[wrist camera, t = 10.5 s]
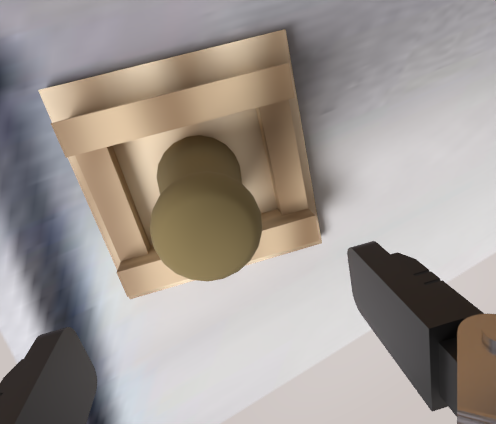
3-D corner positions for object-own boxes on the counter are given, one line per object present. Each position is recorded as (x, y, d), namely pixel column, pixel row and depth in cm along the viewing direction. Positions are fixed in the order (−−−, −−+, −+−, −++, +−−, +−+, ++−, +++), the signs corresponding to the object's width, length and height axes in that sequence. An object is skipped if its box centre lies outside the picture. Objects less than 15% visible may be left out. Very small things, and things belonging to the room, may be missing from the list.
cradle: (281, 31, 23) (299, 21, 20) (317, 238, 29) (336, 260, 26) (44, 90, 22) (16, 91, 19) (131, 292, 28) (123, 323, 25)
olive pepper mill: (158, 217, 25) (139, 306, 15) (154, 133, 23) (130, 171, 13) (239, 216, 26) (273, 299, 16) (243, 136, 24) (284, 173, 14)
